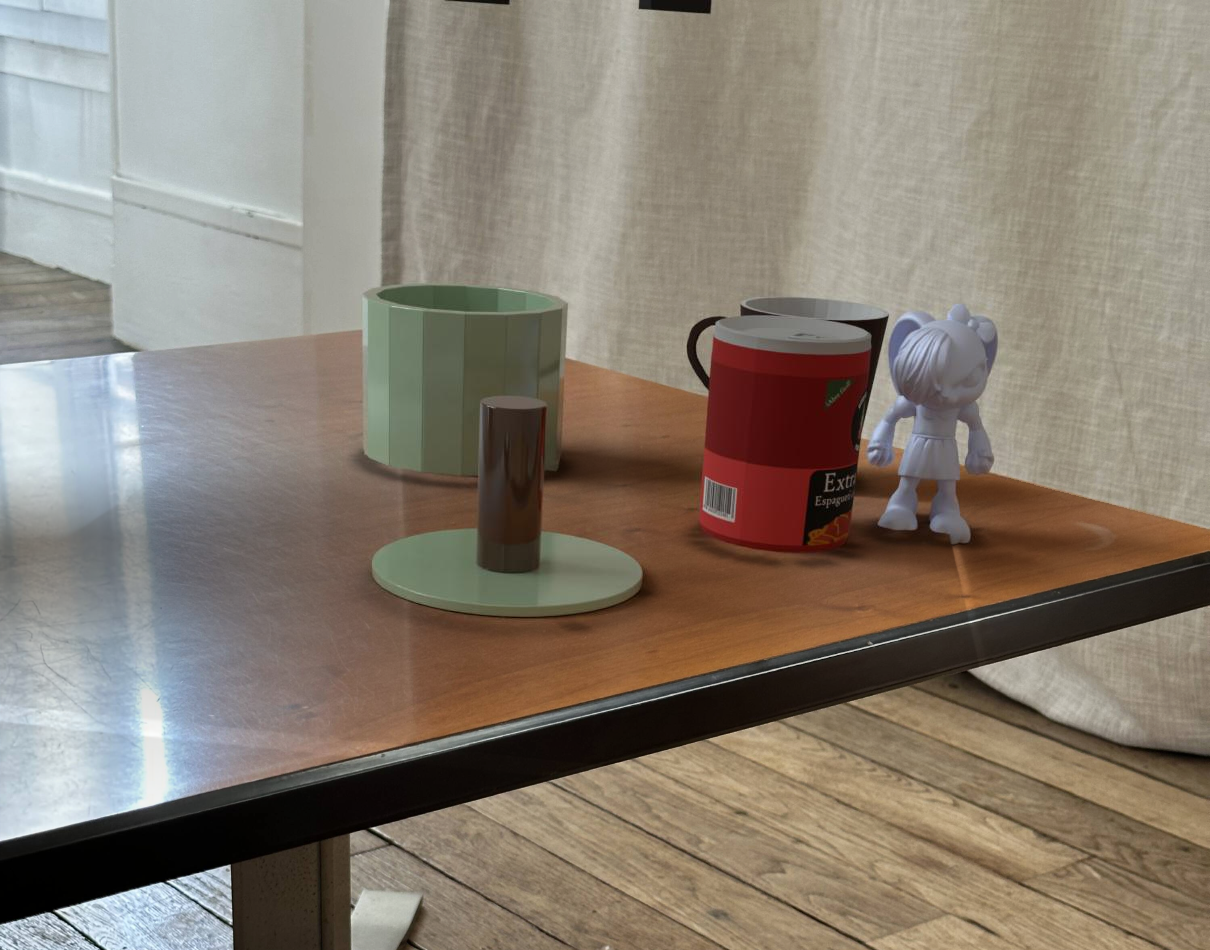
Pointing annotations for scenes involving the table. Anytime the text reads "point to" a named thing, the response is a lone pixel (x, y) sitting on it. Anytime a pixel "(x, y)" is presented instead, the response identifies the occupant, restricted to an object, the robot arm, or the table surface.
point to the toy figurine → (936, 412)
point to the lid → (508, 538)
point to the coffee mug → (805, 308)
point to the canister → (455, 369)
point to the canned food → (783, 432)
